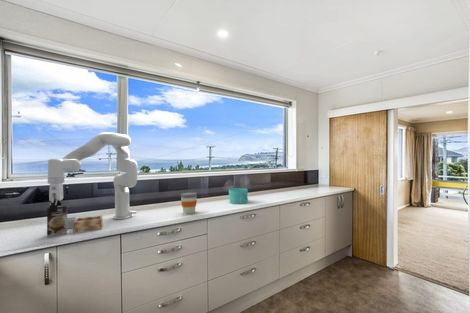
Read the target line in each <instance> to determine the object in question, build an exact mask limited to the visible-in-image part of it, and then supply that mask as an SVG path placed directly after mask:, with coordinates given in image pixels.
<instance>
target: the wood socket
mask: <svg viewBox="0 0 470 313" xmlns="http://www.w3.org/2000/svg"><path fill="white" fill-rule="evenodd" d="M103 225H104V224H103V215H102V214H101V215H95V216H94V215H93V216H86V217H85V216H84V217H83V216H82V217H78V218H76V220H75V221H74V228H73V234H75V233H83V232H90V231H97V230H102V228H103Z"/></svg>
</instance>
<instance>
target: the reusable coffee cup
mask: <svg viewBox="0 0 470 313" xmlns="http://www.w3.org/2000/svg"><path fill="white" fill-rule="evenodd" d="M197 197H198V194H197V192H196V191H195V192H194V191H190V192H189V191H187V192H181V193H180V198H181V200H180V201H181V202H180V203H181V207H182V212H183V213H182V214H186V215H187V214H189V215H190V214H194V213H196V206H197V200H198V199H197Z"/></svg>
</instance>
